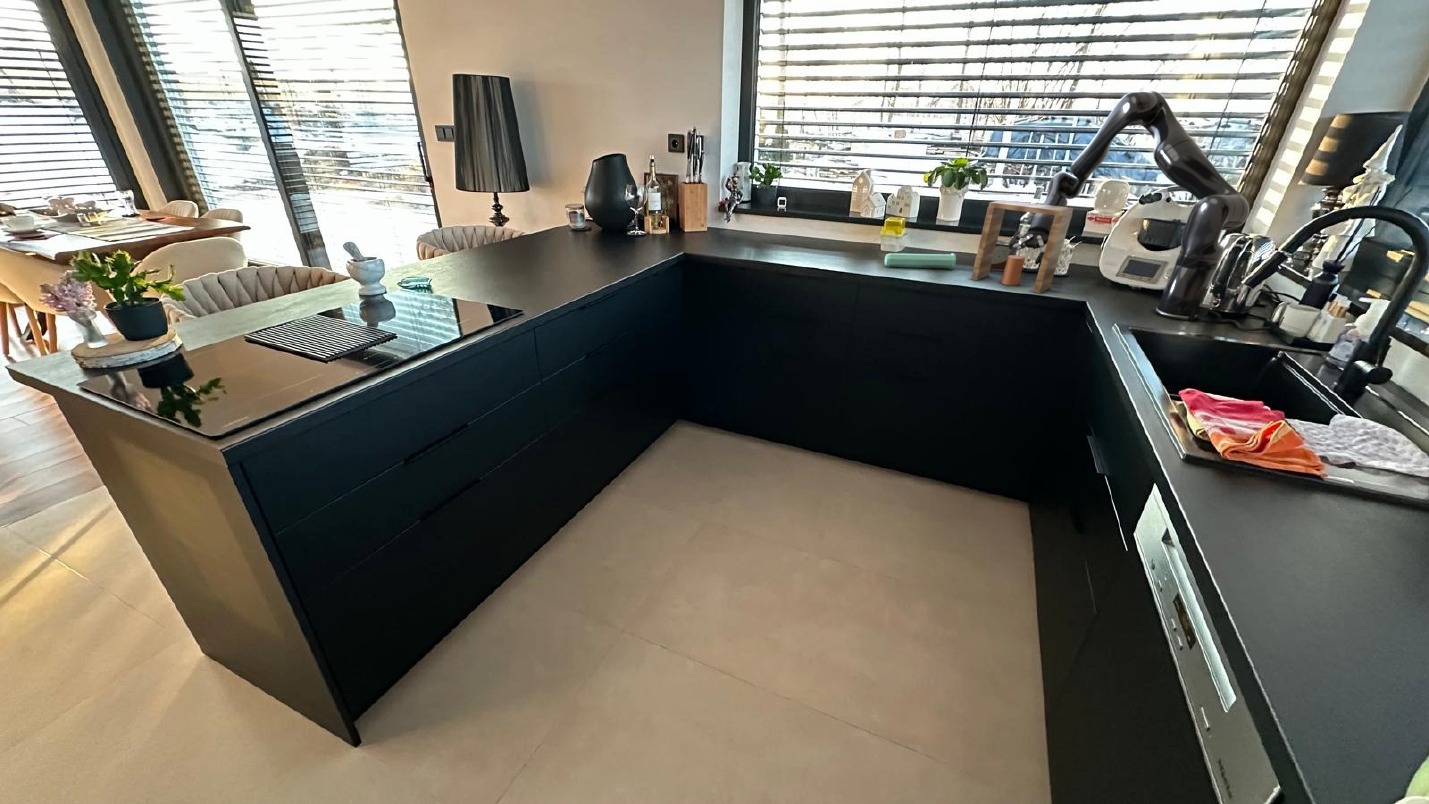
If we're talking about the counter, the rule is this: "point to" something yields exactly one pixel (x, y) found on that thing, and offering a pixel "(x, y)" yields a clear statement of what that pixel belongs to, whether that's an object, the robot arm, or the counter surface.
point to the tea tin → (1013, 270)
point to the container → (921, 260)
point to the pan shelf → (1052, 247)
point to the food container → (1000, 255)
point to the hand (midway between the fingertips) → (1023, 260)
